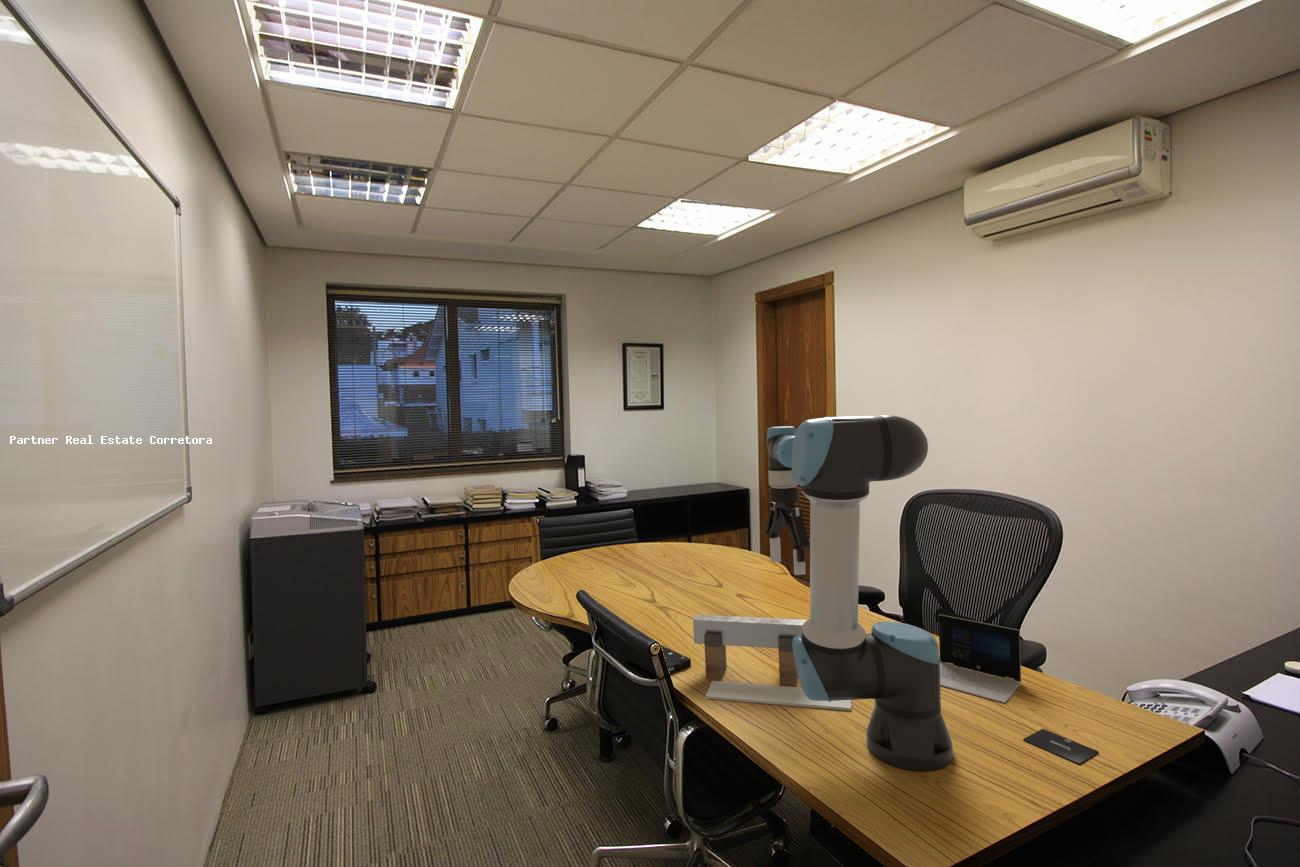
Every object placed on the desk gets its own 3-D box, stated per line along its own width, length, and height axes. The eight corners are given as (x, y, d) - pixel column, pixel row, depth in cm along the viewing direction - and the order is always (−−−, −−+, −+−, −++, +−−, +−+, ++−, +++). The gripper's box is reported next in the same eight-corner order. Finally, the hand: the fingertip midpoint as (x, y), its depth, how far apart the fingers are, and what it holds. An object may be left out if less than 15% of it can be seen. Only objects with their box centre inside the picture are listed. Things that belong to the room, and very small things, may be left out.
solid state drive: (1042, 731, 121) (1042, 728, 121) (1099, 755, 113) (1099, 751, 113) (1022, 742, 118) (1022, 739, 118) (1079, 767, 109) (1079, 763, 109)
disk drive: (692, 668, 159) (657, 651, 171) (691, 658, 159) (656, 642, 171) (660, 680, 153) (626, 662, 165) (660, 669, 153) (626, 652, 165)
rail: (808, 650, 146) (807, 625, 146) (694, 643, 154) (692, 619, 154) (809, 644, 150) (808, 619, 150) (697, 637, 158) (696, 614, 158)
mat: (851, 711, 132) (851, 708, 132) (705, 698, 141) (705, 695, 141) (850, 694, 140) (850, 691, 140) (712, 683, 149) (712, 680, 149)
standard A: (797, 685, 146) (795, 639, 145) (779, 683, 147) (777, 638, 146) (798, 672, 153) (796, 628, 152) (782, 671, 154) (780, 628, 153)
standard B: (722, 679, 151) (720, 635, 150) (706, 678, 152) (704, 634, 152) (726, 667, 158) (724, 625, 157) (711, 666, 159) (709, 624, 158)
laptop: (920, 682, 145) (918, 628, 144) (940, 665, 154) (938, 613, 153) (1005, 705, 132) (1003, 646, 132) (1021, 685, 141) (1020, 629, 141)
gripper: (821, 490, 147) (825, 578, 147) (776, 480, 171) (779, 556, 171) (793, 492, 145) (796, 581, 145) (751, 482, 169) (754, 558, 170)
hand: (787, 568), depth 158 cm, fingers open, 13 cm apart
